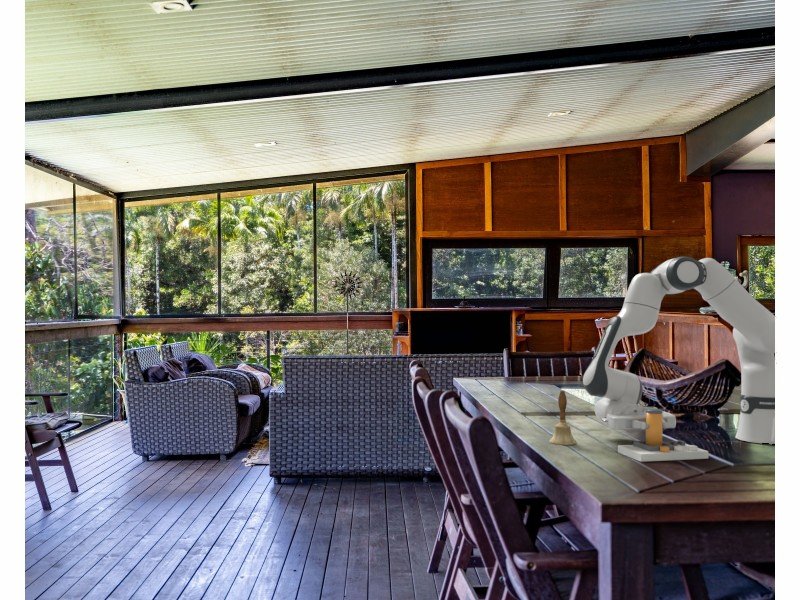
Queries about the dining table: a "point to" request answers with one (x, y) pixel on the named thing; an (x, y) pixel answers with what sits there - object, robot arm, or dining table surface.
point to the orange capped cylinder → (654, 427)
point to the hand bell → (562, 425)
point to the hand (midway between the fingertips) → (655, 425)
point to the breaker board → (662, 451)
